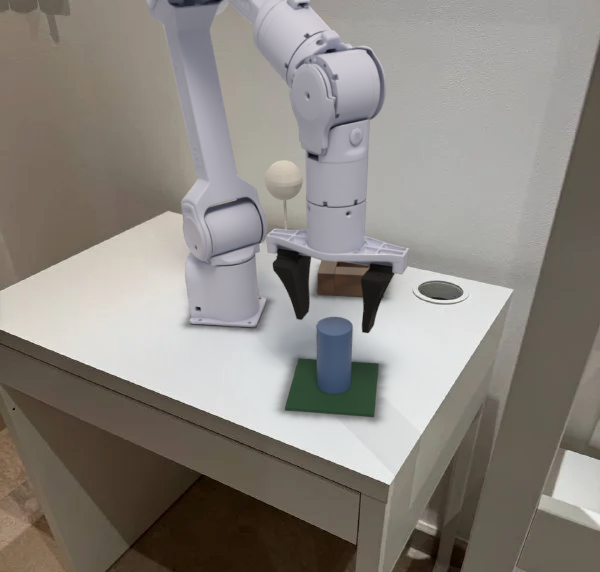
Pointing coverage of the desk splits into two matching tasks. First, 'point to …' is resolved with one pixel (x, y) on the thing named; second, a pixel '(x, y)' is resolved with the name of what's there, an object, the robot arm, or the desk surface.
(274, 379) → the desk surface
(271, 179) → the lollipop
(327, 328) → the peg
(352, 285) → the holder
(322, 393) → the mat
